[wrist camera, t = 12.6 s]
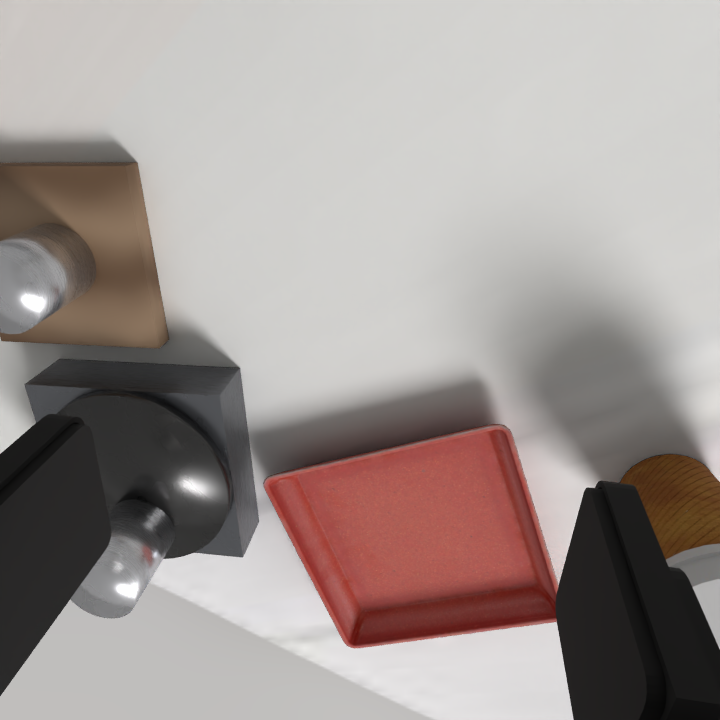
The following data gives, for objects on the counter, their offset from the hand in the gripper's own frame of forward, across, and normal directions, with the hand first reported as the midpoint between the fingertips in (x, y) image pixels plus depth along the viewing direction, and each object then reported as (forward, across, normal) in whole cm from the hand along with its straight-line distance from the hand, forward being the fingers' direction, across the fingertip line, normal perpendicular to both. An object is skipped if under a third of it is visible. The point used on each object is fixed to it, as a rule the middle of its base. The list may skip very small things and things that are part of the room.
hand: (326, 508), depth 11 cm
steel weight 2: (+22, +18, +24) cm, 37 cm away
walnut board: (+27, +23, +5) cm, 36 cm away
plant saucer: (+28, -2, +25) cm, 37 cm away
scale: (+27, +18, +20) cm, 38 cm away
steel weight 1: (+26, +23, +5) cm, 35 cm away
